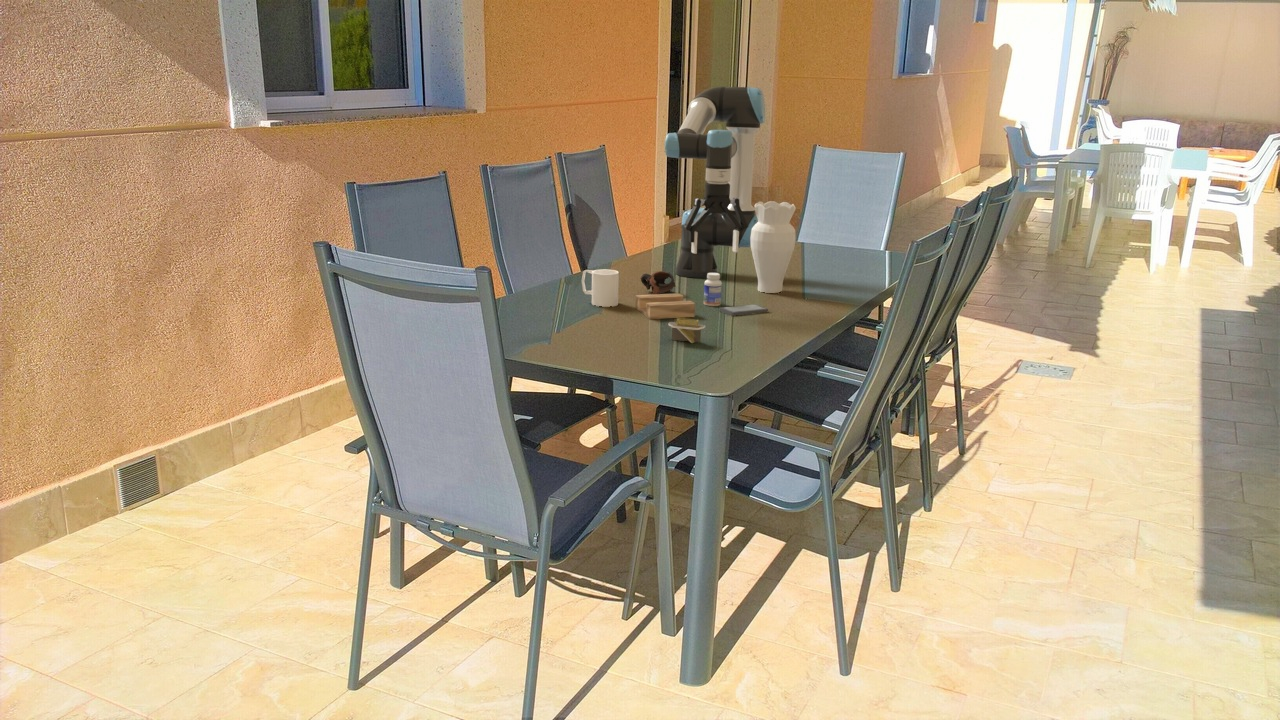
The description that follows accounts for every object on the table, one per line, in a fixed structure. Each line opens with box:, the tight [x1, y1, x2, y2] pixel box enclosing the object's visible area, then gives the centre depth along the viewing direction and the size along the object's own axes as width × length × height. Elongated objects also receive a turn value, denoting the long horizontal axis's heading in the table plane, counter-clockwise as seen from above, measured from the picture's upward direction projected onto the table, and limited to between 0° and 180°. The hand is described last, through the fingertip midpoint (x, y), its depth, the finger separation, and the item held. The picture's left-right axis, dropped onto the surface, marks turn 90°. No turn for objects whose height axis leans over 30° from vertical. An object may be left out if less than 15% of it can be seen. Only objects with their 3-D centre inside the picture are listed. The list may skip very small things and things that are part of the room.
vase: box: [750, 200, 797, 294], centre depth 331 cm, size 15×15×29 cm
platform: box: [668, 317, 706, 344], centre depth 271 cm, size 12×18×7 cm, turn 75°
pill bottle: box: [703, 272, 723, 307], centre depth 314 cm, size 5×5×10 cm
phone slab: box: [719, 303, 769, 317], centre depth 307 cm, size 7×13×1 cm, turn 117°
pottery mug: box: [640, 270, 676, 295], centre depth 328 cm, size 12×10×8 cm
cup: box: [581, 268, 620, 308], centre depth 312 cm, size 8×12×10 cm
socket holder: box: [635, 293, 696, 320], centre depth 303 cm, size 14×14×4 cm
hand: (714, 252), depth 310 cm, fingers open, 13 cm apart
